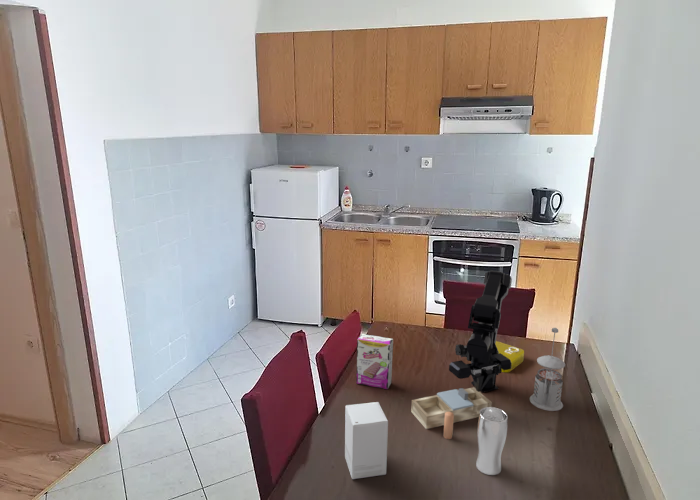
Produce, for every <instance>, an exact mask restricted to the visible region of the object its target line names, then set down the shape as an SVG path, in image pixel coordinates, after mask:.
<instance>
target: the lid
mask: <svg viewBox="0 0 700 500" xmlns="http://www.w3.org/2000/svg"><path fill="white" fill-rule="evenodd" d="M464 389H465V388H463V387H460V388H458V389H456V388H454V389H449V390H444V391H439V392H437V393H436V395H438V396H439V397H440V398H441V399H442V400H443V401H444V402H445V403H446V404H447V405H448V406H449V407H450V408H451V409H452V410H453V411H454V410H458V409H463V408H467V407H472V406H473V403H472V402H470V401H469V400H468V393H467V392H466V391H465V390H464ZM458 390H459V391H458Z"/></svg>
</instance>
